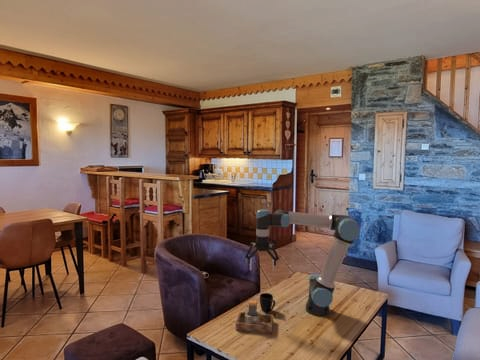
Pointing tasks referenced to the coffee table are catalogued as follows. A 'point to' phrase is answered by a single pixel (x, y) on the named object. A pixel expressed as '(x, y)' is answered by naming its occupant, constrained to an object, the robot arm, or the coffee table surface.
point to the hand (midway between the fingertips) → (261, 270)
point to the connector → (252, 307)
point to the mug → (266, 302)
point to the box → (254, 322)
